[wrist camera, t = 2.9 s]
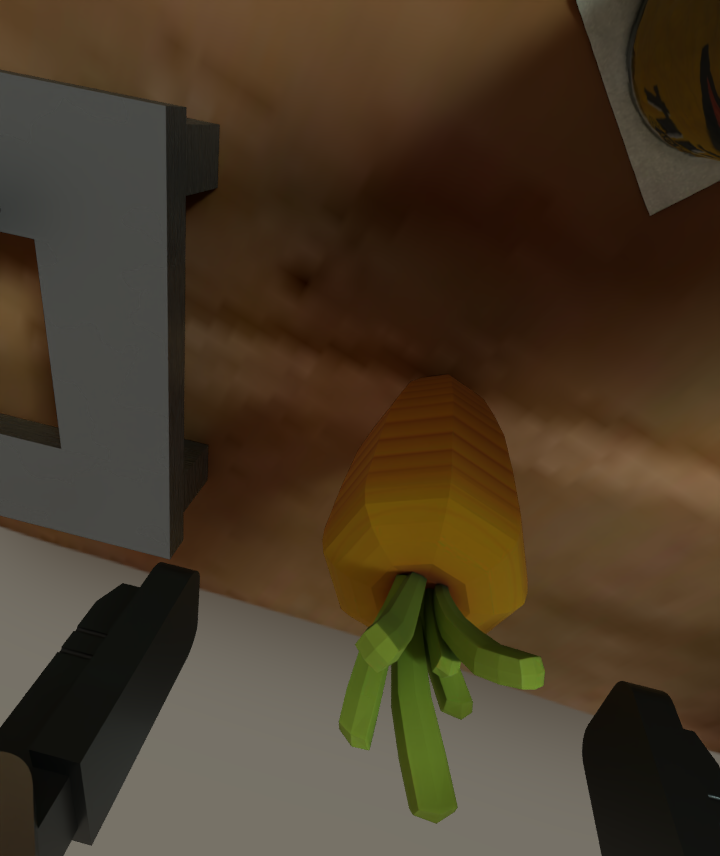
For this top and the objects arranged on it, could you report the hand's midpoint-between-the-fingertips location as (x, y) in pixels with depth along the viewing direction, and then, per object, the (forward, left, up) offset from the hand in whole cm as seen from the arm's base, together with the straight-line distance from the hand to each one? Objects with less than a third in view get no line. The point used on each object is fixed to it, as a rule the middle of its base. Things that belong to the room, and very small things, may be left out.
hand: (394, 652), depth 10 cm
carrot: (0, 0, -13) cm, 13 cm away
